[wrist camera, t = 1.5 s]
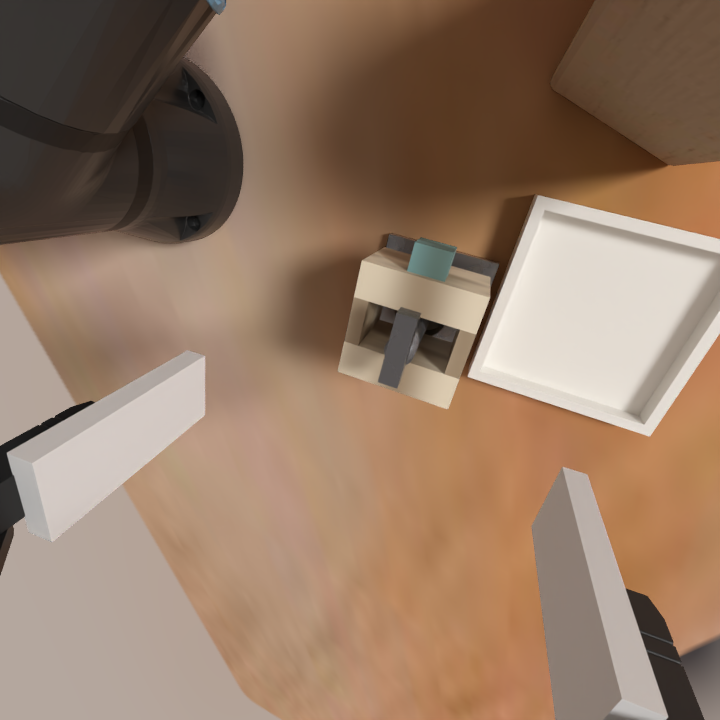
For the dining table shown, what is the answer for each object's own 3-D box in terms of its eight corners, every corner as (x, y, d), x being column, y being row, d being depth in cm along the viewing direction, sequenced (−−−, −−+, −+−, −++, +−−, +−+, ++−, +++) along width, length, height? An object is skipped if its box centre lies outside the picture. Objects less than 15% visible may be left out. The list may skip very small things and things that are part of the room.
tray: (468, 366, 36) (467, 376, 34) (534, 194, 30) (537, 195, 28) (640, 422, 34) (649, 436, 32) (754, 247, 27) (774, 252, 25)
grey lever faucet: (367, 330, 38) (309, 399, 26) (391, 232, 34) (335, 260, 22) (462, 361, 36) (447, 449, 24) (498, 262, 32) (503, 309, 20)
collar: (361, 342, 34) (337, 371, 28) (390, 222, 29) (368, 230, 24) (455, 372, 32) (447, 409, 27) (499, 252, 28) (501, 267, 23)
